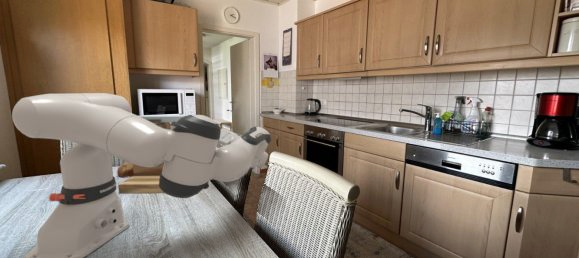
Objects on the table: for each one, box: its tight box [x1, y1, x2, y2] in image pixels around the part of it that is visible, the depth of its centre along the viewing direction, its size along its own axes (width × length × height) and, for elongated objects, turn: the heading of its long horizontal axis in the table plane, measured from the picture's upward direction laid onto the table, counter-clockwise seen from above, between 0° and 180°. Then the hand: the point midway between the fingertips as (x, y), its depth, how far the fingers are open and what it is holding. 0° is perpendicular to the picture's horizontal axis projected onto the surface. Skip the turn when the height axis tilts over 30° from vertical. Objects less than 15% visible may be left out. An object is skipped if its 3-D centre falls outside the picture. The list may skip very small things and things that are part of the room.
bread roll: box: [116, 161, 134, 178], centre depth 119 cm, size 10×10×8 cm
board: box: [117, 176, 165, 194], centre depth 102 cm, size 10×24×4 cm, turn 92°
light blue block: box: [138, 115, 186, 123], centre depth 109 cm, size 4×22×2 cm, turn 92°
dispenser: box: [133, 119, 171, 176], centre depth 111 cm, size 11×12×28 cm
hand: (206, 129), depth 110 cm, fingers open, 8 cm apart
